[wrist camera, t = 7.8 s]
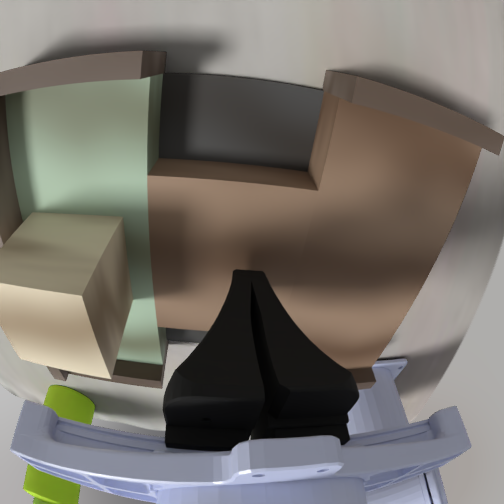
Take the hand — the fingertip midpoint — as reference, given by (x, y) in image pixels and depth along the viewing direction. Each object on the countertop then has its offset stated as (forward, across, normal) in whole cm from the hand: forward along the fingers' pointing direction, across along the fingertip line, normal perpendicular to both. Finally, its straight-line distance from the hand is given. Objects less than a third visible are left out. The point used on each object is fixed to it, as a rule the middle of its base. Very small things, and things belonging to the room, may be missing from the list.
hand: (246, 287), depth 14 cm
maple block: (+1, +8, 0) cm, 8 cm away
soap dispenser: (+4, +18, +23) cm, 29 cm away
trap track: (+3, +1, 0) cm, 4 cm away
